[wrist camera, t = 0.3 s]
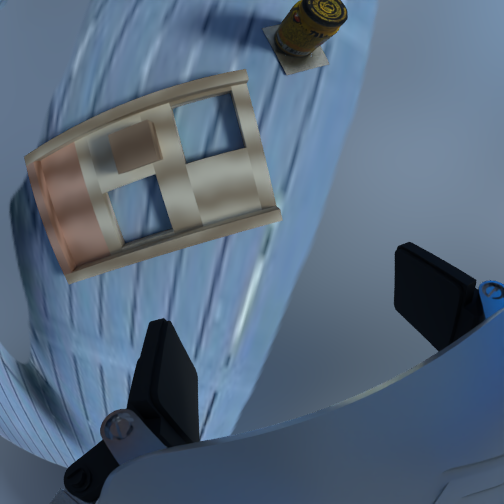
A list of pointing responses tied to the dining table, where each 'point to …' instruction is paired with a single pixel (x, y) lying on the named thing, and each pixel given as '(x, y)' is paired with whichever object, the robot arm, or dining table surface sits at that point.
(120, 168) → the walnut block
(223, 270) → the dining table surface
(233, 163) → the trap track
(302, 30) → the condiment
